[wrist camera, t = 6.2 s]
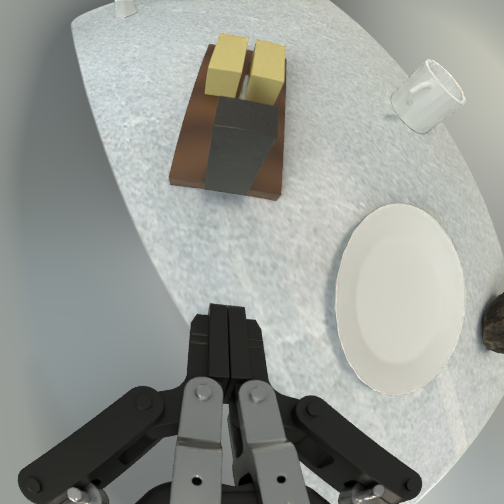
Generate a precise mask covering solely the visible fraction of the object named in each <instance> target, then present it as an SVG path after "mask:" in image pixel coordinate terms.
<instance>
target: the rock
mask: <svg viewBox="0 0 504 504" xmlns="http://www.w3.org/2000/svg"><path fill="white" fill-rule="evenodd" d="M483 342H484V345H485V346H486V349H487V350H492V351H494V352H496V353H502V354H504V292H503V294H501V295H499V296H498V297H497V298H496V299H495V300H494V301H493V303H492V304H491V306H490V308H489V309H488V310H487V311H486V313H485V315H484V319H483Z"/></svg>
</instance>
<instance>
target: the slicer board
mask: <svg viewBox="0 0 504 504" xmlns="http://www.w3.org/2000/svg"><path fill="white" fill-rule="evenodd" d="M215 46H216V45H213V44H209V46H208V48H207V51H206V54H205V56H204V59H203V62H202V65H201V67H200V70H199V73H198V76H197V79H196V82H195V85H194V88H193V91H192V94H191V97H190V100H189V104H188V107H187V110H186V114H185V117H184V121H183V124H182V128H181V131H180V135H179V139H178V142H177V146H176V150H175V154H174V158H173V162H172V166H171V171H170V175H169V181H170V185H178V186H186V187H193V188H201V189H204V184H205V176H206V169H207V162H208V155H209V148H210V142H211V136H212V129H213V124H214V119H215V114H216V110H217V106H218V101H219V97H220V96H215V95H208V94H205V87H206V79H207V72H208V66H209V63H210V60H211V57H212V55H213V52H214V49H215ZM252 54H253V51H250V50H246V55H245V59H244V65H243V70H242V74H241V78H240V81H239V85H238V89H237V93H236V96H235V98H238V99H239V96H240V92H241V89H242V85H243V82H244V78H245V75H248V70H249V64H250V60H251V57H252ZM285 97H286V59H285V75H284V84H283V86H282V88H281V90H280V92H279V95H278V97H277V99H276V101H275V103H274V105H273V106H276V107H279V118H278V135H277V139H276V141H275V142H274V144H273V146H272V148H271V150H270V152H269V153H268V155H267V157H266V159H265V161H264V163H263V165H262V166H261V168H260V170H259V172H258V174H257V176H256V178H255V180H254V182H253V183H252V185H251V187H250V189H249V191H248V193H247V196H253V197H259V198H265V199H270V200H277V199H278V198H279V197H280V195H281V188H282V169H283V149H284V125H285Z"/></svg>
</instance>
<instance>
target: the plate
mask: <svg viewBox="0 0 504 504" xmlns="http://www.w3.org/2000/svg"><path fill="white" fill-rule="evenodd" d="M464 313H465V284H464V276H463V270H462V267H461V263H460V260H459V257H458V253H457V251H456V249H455V247H454V245H453V243H452V241H451V239H450V237H449V236H448V234H447V233H446V231H445V230H444V229H443V227H442V226H441V225H440V223H439V222H437V221H436V220H435V219H434V218H433V217H432V216H431V215H430V214H428V213H427V212H425V211H423V210H422V209H420V208H418V207H416V206H414V205H408V204H402V203H395V204H389V205H384V206H381V207H380V208H378V209H376V210H375V211H373V212H371V213H370V214H368V215H367V216H366V217H365V218H364V219H363V221H362V222H361V223H360V224H359V225H358V226H357V228H356V229H355V230H354V231H353V233H352V235H351V237H350V240H349V242H348V244H347V246H346V248H345V250H344V252H343V255H342V259H341V263H340V267H339V271H338V275H337V278H336V295H335V314H336V321H337V329H338V336H339V339H340V342H341V345H342V348H343V351H344V353H345V356H346V359H347V361H348V363H349V364H350V366H351V367H352V369H353V370H354V372H355V373H356V375H357V376H358V378H359V379H360V380H361V381H363V382H364V383H365V384H367V385H368V386H369V387H370V388H372V389H373V390H374V391H377V392H381V393H384V394H387V395H390V396H391V395H406V394H409V393H411V392H414V391H416V390H418V389H421V388H423V387H424V386H425V385H426V384H428V383H429V382H430V381H432V380H433V379H434V378H435V377H436V376H437V375H438V374H439V373H440V371H441V370H442V369H443V368H444V366H445V365H446V364H447V362H448V361H449V359H450V357H451V355H452V353H453V351H454V349H455V347H456V345H457V342H458V339H459V336H460V333H461V330H462V325H463V319H464Z"/></svg>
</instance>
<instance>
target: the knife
mask: <svg viewBox="0 0 504 504" xmlns="http://www.w3.org/2000/svg"><path fill="white" fill-rule="evenodd" d="M248 77H249V76H248V75H245V78H244V82H243V85H242V89H241V92H240V96H239V99H238V98H232V97H226V96H220V97H219V101H218V106H217V110H216V114H215V119H214V124H213V129H212V136H211V142H210V148H209V155H208V162H207V169H206V176H205V184H204V189H206V190H213V191H219V192H226V193H232V194H239V195H245V196H246V195H247V193H248V191H249V189H250V187H251V185H252V183H253V182H254V180H255V178H256V176H257V174H258V172H259V170H260V168H261V166H262V165H263V163H264V161H265V159H266V157H267V155H268V153H269V152H270V150H271V148H272V146H273V144H274V142H275V141H276V139H277V135H278V118H279V107H276V106H272V105H268V104H263V103H258V102H253V101H248V100H245V96H246V90H247V84H248Z"/></svg>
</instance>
